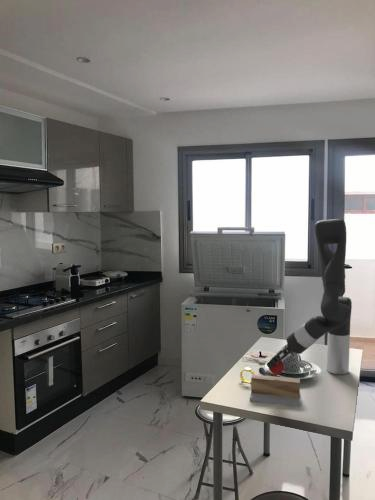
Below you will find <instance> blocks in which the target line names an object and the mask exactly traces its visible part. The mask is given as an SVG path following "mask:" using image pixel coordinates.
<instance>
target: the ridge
mask: <svg viewBox="0 0 375 500" xmlns="http://www.w3.org/2000/svg"><path fill="white" fill-rule="evenodd" d="M254 374H255V373H254ZM254 374H252V373H251V379H250V380H251V383H250V387H251V388H250V394H251V393H256V394H265V395H275V396H284V397H293V398H300V395H301V394H300V393H301V392H300V389H301V379H300V378H295V377H294V378H293V377H284V376H275V375H274V376H272V375H269V376H264V375H263V374H255V375H254Z"/></svg>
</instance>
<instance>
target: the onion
mask: <svg viewBox="0 0 375 500" xmlns="http://www.w3.org/2000/svg"><path fill="white" fill-rule="evenodd" d="M276 355H277V354H274V356H276ZM276 359H277V358H276ZM270 360H272V358H271V359H270ZM277 360H278V359H277ZM268 370H269V371H270V372H271V373H272V375H274V377H277V376H278V375H280V374H282V372H283V371H284V370H285V364H284V362H283V361H282V360H281V361H279V362H278V364H275V365H274V366H273V367H272V368H269V367H268Z"/></svg>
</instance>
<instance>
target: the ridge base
mask: <svg viewBox="0 0 375 500" xmlns="http://www.w3.org/2000/svg"><path fill="white" fill-rule="evenodd" d="M249 401H251V402H257V403H268V404H276V405H285V406H293V407H300V398H293V397H284V396H275V395H265V394H256V393H251V392H250V396H249Z"/></svg>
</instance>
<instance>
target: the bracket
mask: <svg viewBox="0 0 375 500" xmlns="http://www.w3.org/2000/svg"><path fill="white" fill-rule="evenodd" d="M258 372H259V373H261V375H264V376H270V375H269V373H268V372H266V370H265V368H264V367H259V369H258Z"/></svg>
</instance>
